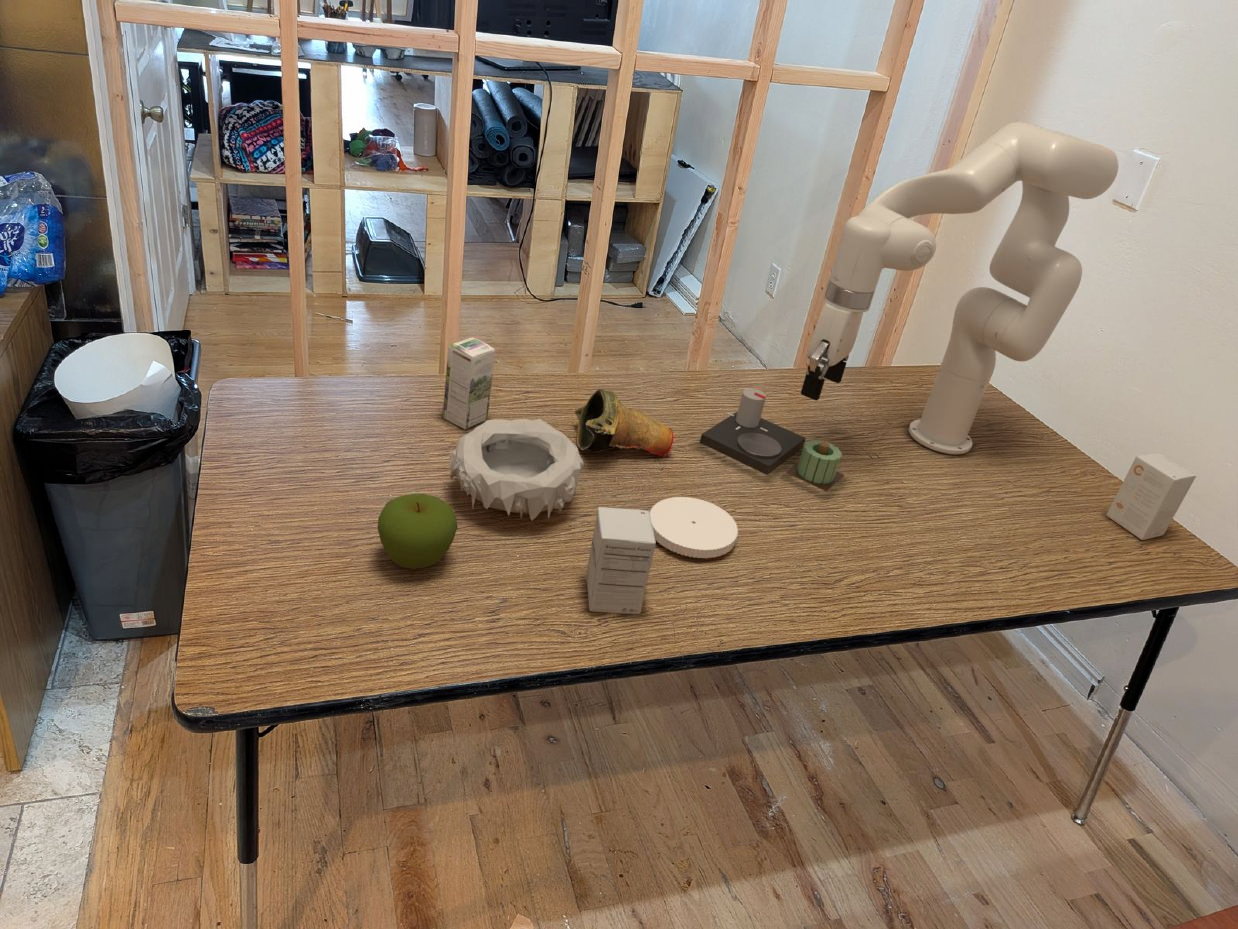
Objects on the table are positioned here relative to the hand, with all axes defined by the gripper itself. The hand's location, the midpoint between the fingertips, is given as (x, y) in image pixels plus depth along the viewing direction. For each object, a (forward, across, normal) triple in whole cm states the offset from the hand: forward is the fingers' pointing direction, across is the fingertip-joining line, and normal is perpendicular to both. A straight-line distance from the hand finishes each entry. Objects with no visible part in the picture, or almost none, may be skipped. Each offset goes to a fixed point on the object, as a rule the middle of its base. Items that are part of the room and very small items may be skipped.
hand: (820, 388), depth 158 cm
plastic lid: (+17, +33, -4) cm, 37 cm away
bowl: (+17, +45, -29) cm, 56 cm away
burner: (+13, +4, -7) cm, 15 cm away
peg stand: (+16, +1, +4) cm, 17 cm away
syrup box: (+17, +32, -51) cm, 62 cm away
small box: (+17, -32, +54) cm, 65 cm away
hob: (+16, 0, -9) cm, 19 cm away
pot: (+17, +21, -27) cm, 38 cm away
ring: (+15, +1, +4) cm, 16 cm away
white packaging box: (+17, +54, -4) cm, 56 cm away
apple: (+17, +67, -29) cm, 75 cm away
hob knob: (+13, -3, -13) cm, 19 cm away
